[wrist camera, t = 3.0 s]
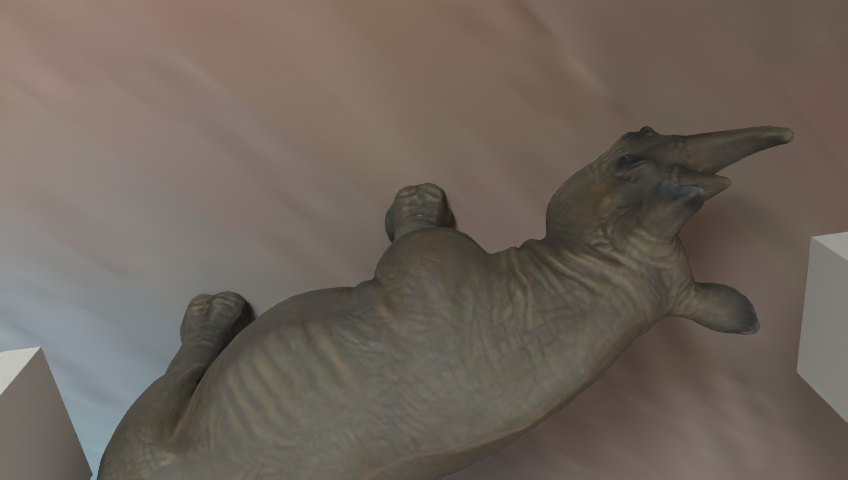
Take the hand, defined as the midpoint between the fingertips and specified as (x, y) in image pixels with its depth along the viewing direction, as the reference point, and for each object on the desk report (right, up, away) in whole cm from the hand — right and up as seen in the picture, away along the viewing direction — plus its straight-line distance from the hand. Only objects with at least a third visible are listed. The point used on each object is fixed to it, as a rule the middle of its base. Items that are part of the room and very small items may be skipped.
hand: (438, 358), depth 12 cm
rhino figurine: (0, +2, +3) cm, 4 cm away
